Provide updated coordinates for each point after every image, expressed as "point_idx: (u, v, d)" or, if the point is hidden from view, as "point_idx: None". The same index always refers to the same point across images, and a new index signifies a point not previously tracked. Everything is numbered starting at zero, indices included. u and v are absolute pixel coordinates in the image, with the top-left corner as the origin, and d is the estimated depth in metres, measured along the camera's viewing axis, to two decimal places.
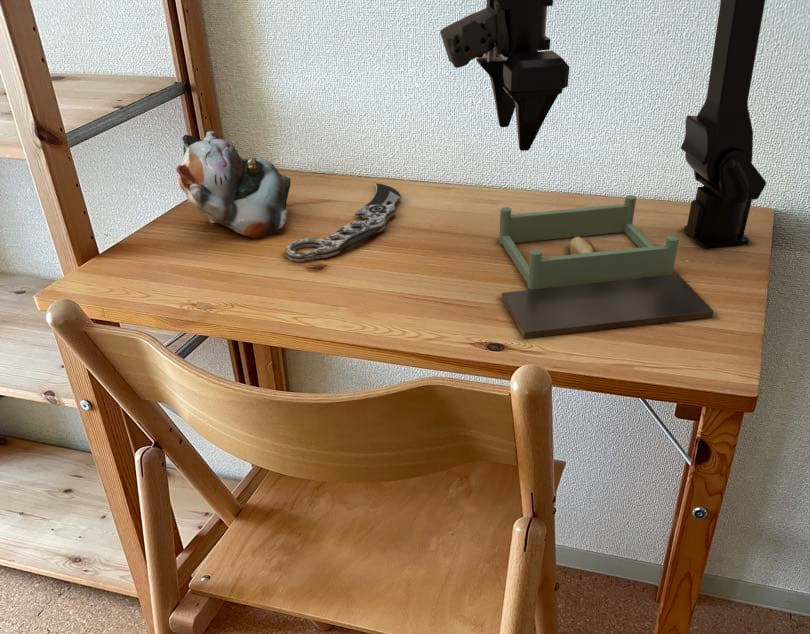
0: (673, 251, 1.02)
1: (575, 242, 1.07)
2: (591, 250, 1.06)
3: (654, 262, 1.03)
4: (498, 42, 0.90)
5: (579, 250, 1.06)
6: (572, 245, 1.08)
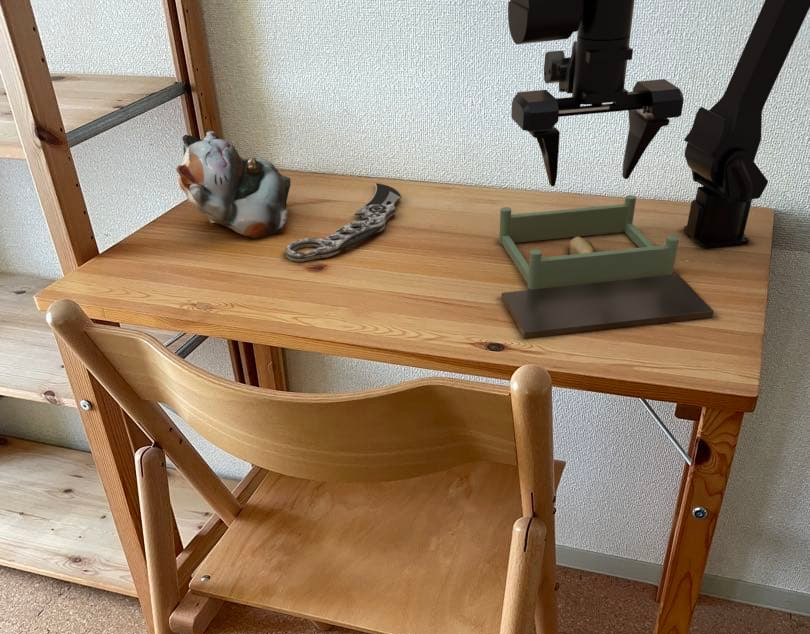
0: (673, 251, 1.02)
1: (575, 242, 1.07)
2: (591, 250, 1.06)
3: (654, 262, 1.03)
4: (565, 80, 0.98)
5: (580, 250, 1.06)
6: (572, 245, 1.08)
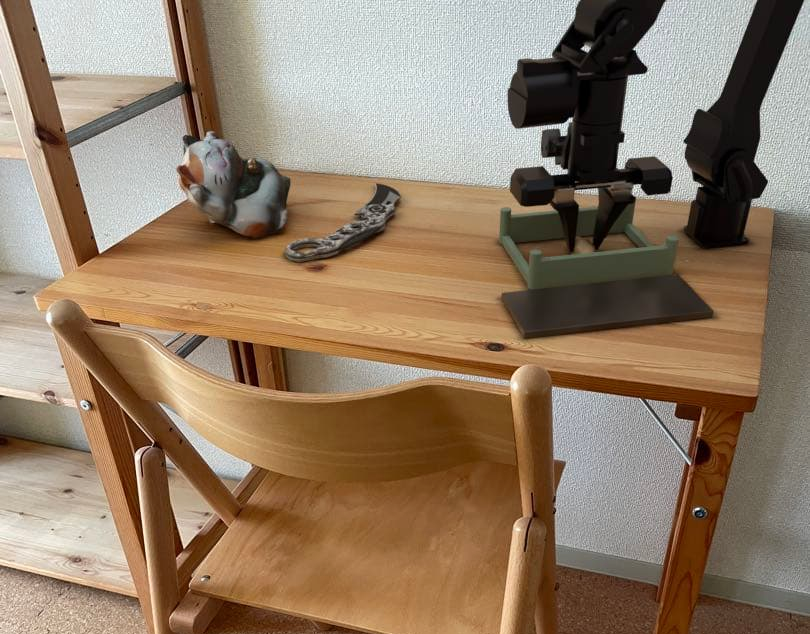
0: (673, 251, 1.02)
1: (575, 242, 1.07)
2: (592, 250, 1.06)
3: (654, 262, 1.03)
4: (561, 157, 1.03)
5: (580, 250, 1.06)
6: None
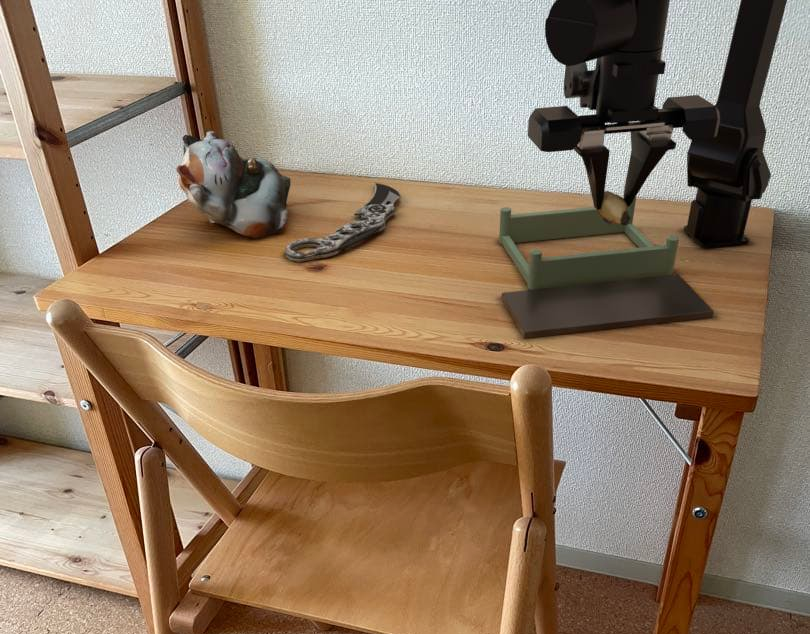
0: (673, 251, 1.02)
1: (604, 196, 0.92)
2: (623, 206, 0.91)
3: (654, 262, 1.03)
4: (588, 95, 0.88)
5: (610, 206, 0.91)
6: None
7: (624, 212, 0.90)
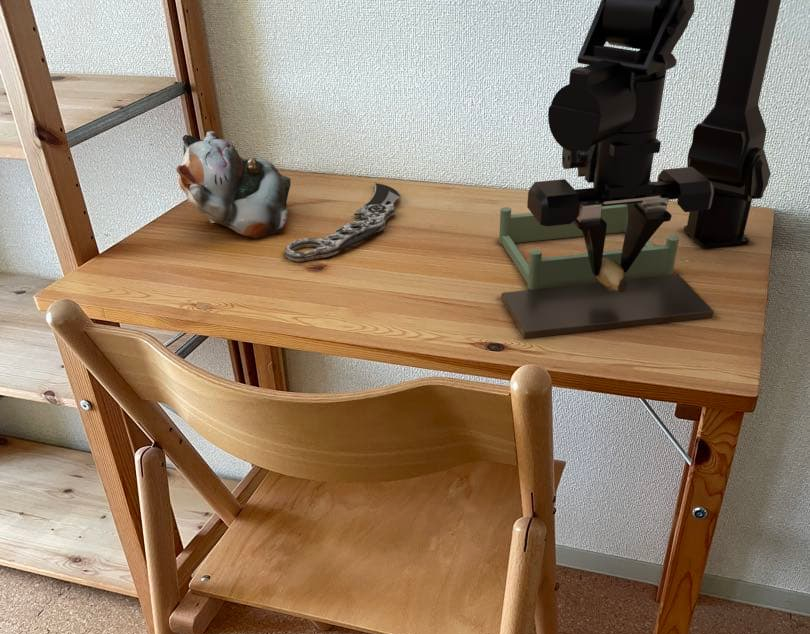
0: (673, 251, 1.02)
1: (602, 264, 0.95)
2: (621, 273, 0.93)
3: (654, 262, 1.03)
4: (586, 168, 0.91)
5: (607, 273, 0.93)
6: None
7: (621, 280, 0.93)
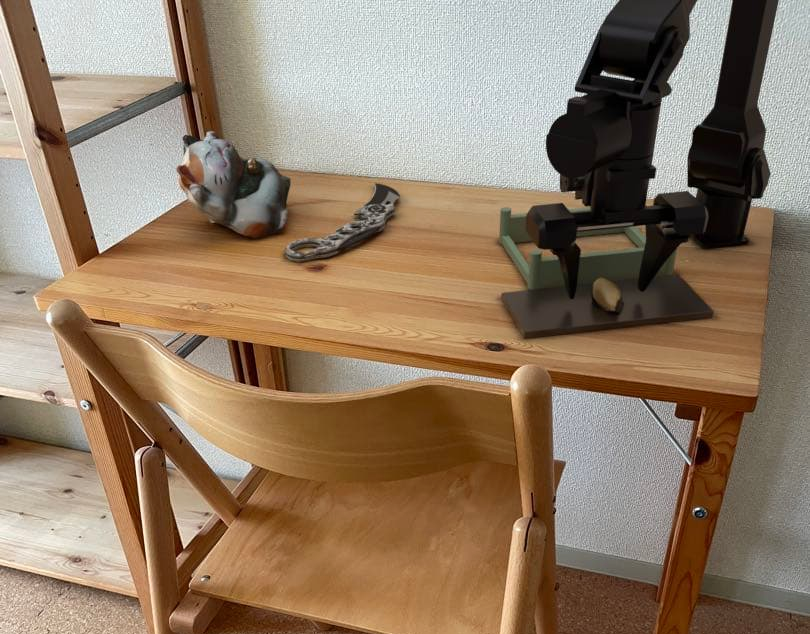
0: None
1: (599, 284, 0.96)
2: (618, 294, 0.95)
3: None
4: (583, 192, 0.92)
5: (605, 294, 0.95)
6: (596, 288, 0.97)
7: (618, 300, 0.95)
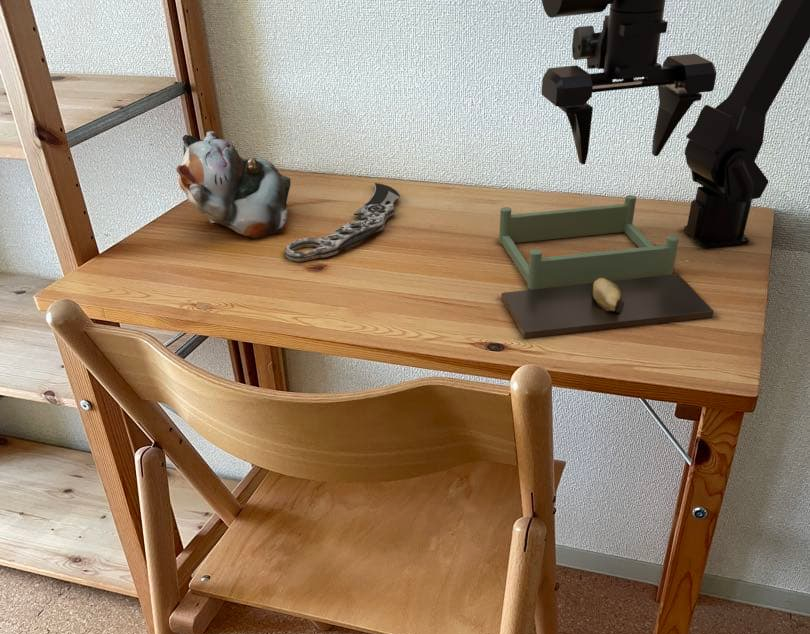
0: (673, 251, 1.02)
1: (599, 284, 0.96)
2: (618, 294, 0.95)
3: (654, 262, 1.03)
4: (596, 55, 0.96)
5: (605, 294, 0.95)
6: (596, 288, 0.97)
7: (618, 300, 0.95)
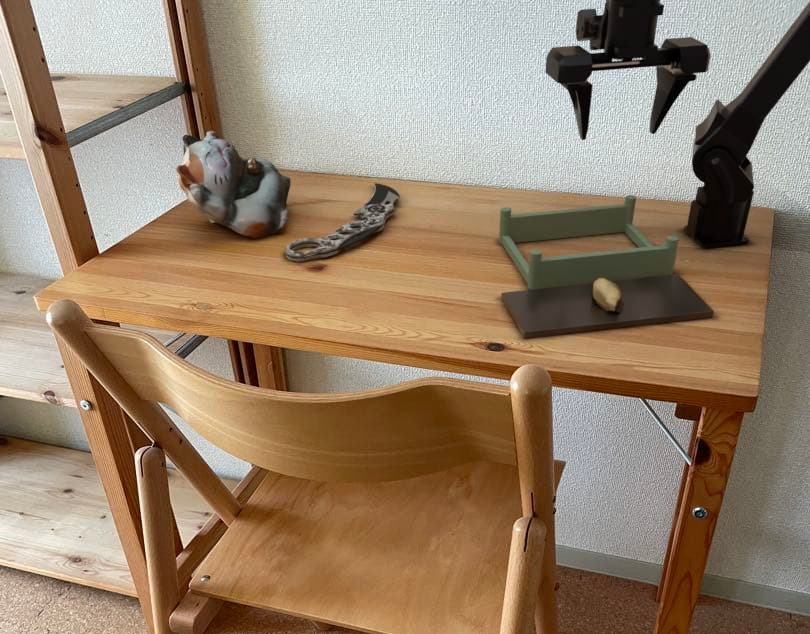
0: (673, 251, 1.02)
1: (599, 284, 0.96)
2: (618, 294, 0.95)
3: (654, 262, 1.03)
4: (597, 36, 1.03)
5: (605, 294, 0.95)
6: (596, 288, 0.97)
7: (618, 300, 0.95)
